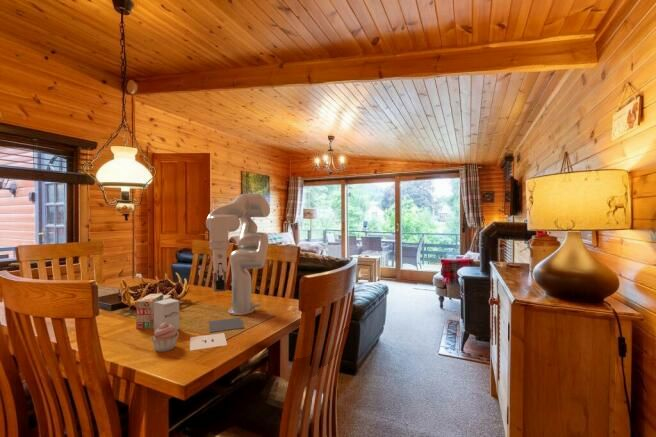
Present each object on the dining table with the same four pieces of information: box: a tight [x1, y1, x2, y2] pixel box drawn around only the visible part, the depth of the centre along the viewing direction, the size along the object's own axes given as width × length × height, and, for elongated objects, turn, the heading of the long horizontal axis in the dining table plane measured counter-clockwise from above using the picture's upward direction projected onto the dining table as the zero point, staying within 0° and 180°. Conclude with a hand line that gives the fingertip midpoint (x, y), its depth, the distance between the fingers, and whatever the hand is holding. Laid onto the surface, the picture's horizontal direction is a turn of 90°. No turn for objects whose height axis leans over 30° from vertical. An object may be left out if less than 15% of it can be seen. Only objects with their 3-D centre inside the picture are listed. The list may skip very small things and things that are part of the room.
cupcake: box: [150, 322, 180, 353], centre depth 117 cm, size 9×9×10 cm
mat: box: [208, 317, 245, 334], centre depth 142 cm, size 14×14×1 cm
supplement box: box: [153, 298, 180, 332], centre depth 135 cm, size 7×7×13 cm
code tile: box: [189, 332, 228, 351], centre depth 124 cm, size 13×13×1 cm
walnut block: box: [212, 270, 227, 293], centre depth 134 cm, size 5×5×8 cm
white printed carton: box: [135, 293, 172, 330], centre depth 148 cm, size 21×6×12 cm, turn 4°
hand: (219, 287), depth 134 cm, fingers closed on walnut block, 5 cm apart
